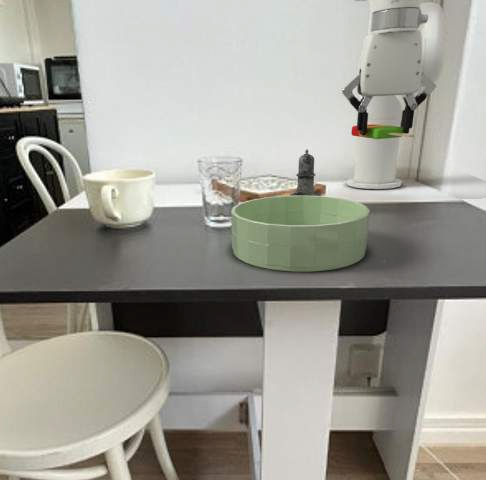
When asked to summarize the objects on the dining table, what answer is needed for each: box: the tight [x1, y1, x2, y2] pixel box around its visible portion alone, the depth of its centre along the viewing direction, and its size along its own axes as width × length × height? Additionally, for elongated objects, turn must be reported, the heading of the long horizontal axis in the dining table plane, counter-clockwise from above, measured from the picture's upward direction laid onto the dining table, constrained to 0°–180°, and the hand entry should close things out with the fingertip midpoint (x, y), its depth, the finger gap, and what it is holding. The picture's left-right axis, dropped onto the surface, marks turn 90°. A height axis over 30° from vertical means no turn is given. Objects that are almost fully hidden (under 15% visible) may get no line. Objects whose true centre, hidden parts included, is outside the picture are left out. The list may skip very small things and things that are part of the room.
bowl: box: [230, 195, 371, 273], centre depth 63 cm, size 19×19×6 cm
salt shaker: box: [288, 149, 322, 196], centre depth 82 cm, size 6×6×12 cm
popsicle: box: [351, 124, 415, 139], centre depth 81 cm, size 6×15×2 cm, turn 16°
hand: (383, 133), depth 81 cm, fingers closed on popsicle, 6 cm apart
